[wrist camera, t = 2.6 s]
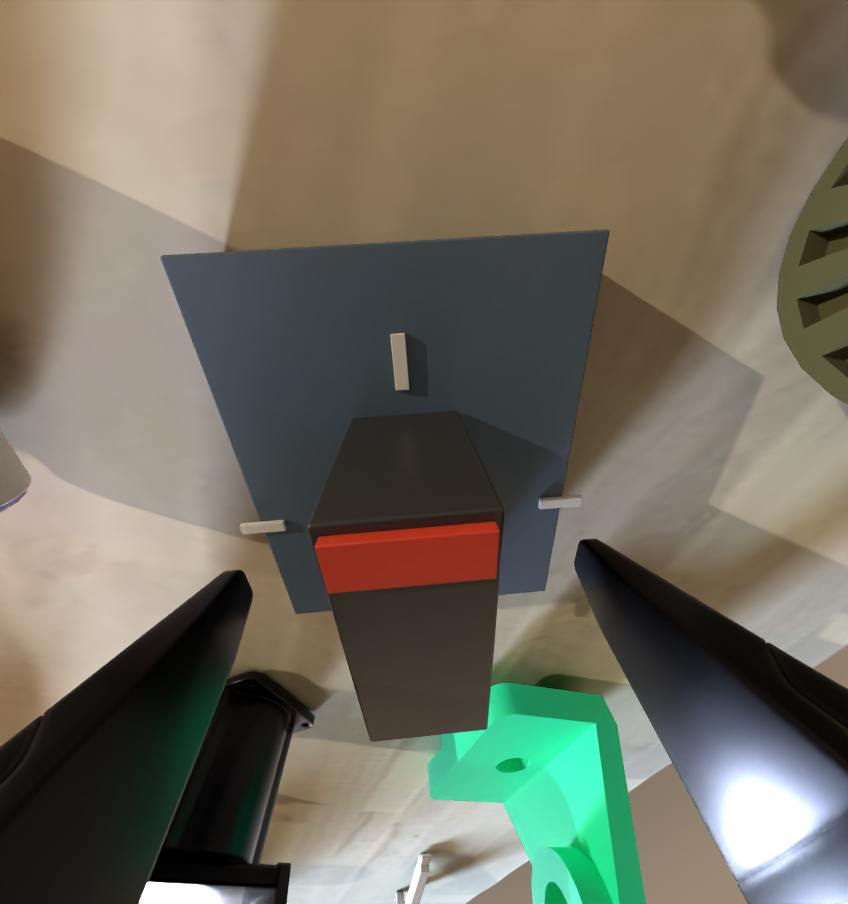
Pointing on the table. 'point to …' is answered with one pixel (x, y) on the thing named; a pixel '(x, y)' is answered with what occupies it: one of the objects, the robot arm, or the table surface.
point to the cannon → (819, 282)
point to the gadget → (412, 571)
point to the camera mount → (551, 790)
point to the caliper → (416, 882)
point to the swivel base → (397, 370)
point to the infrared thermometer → (11, 475)
